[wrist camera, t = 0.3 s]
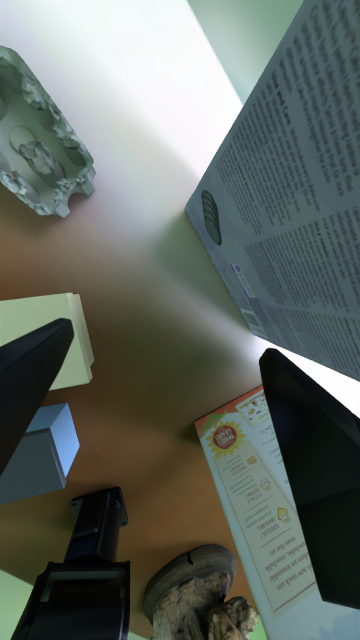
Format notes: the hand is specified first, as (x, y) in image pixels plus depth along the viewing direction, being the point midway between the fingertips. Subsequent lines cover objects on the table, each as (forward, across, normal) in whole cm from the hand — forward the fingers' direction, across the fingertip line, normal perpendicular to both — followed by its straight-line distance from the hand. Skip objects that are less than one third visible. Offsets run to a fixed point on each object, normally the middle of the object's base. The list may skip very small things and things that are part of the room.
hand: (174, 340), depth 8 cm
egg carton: (+18, +14, -4) cm, 23 cm away
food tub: (+3, +13, +22) cm, 26 cm away
